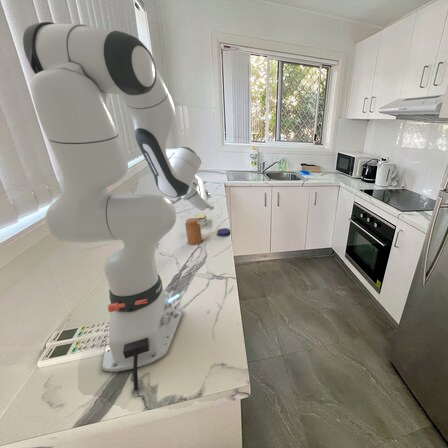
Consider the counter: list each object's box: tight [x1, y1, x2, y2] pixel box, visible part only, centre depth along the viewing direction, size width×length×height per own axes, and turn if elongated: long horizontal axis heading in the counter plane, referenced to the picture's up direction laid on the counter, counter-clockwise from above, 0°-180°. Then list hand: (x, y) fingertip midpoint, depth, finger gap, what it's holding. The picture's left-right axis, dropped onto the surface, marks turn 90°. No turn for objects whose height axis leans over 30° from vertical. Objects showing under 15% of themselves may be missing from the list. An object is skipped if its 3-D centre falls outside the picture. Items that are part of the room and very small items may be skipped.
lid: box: [217, 227, 231, 238], centre depth 128 cm, size 7×6×2 cm
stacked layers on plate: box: [194, 212, 211, 229], centre depth 138 cm, size 10×9×6 cm
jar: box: [184, 217, 203, 245], centre depth 117 cm, size 6×6×12 cm
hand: (210, 201), depth 106 cm, fingers open, 8 cm apart
